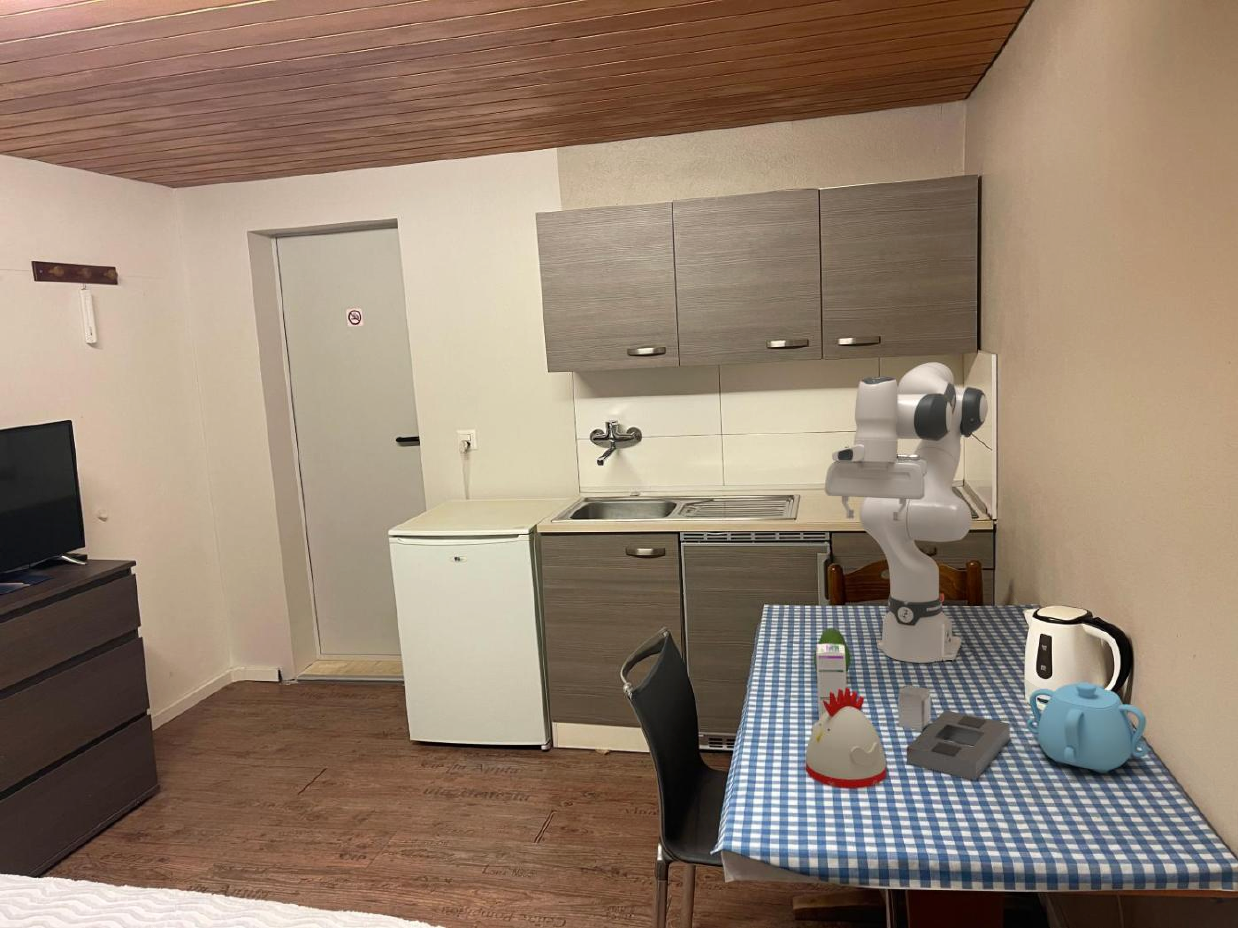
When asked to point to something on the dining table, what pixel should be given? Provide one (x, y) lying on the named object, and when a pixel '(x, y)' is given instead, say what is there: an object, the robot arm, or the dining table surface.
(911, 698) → the stepped metal block
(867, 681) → the dining table surface
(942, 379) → the robot arm
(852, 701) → the kitchen timer
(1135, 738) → the decorative pot
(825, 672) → the syrup box
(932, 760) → the grey flat block
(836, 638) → the avocado
